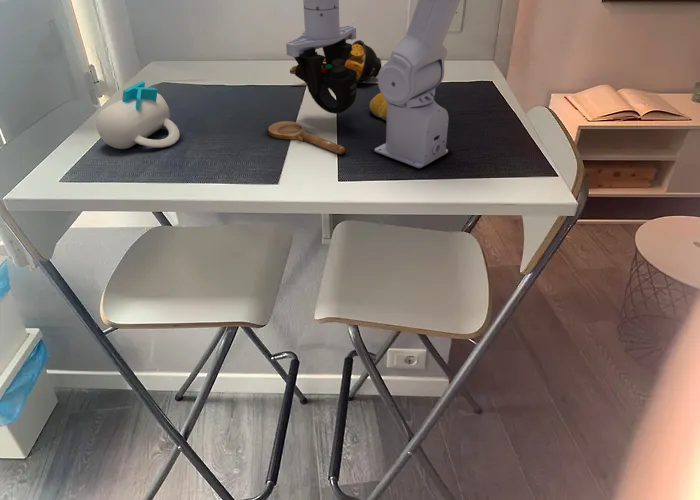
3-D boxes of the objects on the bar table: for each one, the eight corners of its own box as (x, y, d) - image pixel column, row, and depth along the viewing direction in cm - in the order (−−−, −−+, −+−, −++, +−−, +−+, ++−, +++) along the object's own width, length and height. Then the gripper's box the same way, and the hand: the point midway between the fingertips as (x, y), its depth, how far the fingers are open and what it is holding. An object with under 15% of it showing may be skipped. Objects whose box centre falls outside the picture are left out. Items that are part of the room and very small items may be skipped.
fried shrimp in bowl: (393, 64, 116) (314, 45, 108) (369, 105, 124) (294, 90, 115) (381, 36, 121) (304, 16, 112) (358, 77, 129) (285, 61, 120)
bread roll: (395, 127, 102) (396, 105, 99) (362, 113, 107) (362, 92, 105) (427, 115, 106) (429, 94, 104) (394, 102, 112) (394, 82, 109)
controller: (350, 123, 98) (342, 70, 91) (298, 106, 104) (287, 55, 97) (365, 111, 100) (359, 58, 93) (314, 95, 106) (304, 44, 99)
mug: (89, 94, 88) (138, 71, 97) (86, 141, 94) (132, 115, 103) (154, 131, 88) (197, 105, 97) (146, 176, 93) (187, 147, 103)
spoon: (356, 149, 94) (356, 141, 94) (331, 161, 91) (331, 153, 90) (286, 122, 104) (286, 115, 103) (261, 132, 100) (260, 125, 100)
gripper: (334, -5, 98) (336, 74, 106) (270, 10, 89) (278, 95, 97) (365, 1, 94) (365, 82, 102) (301, 17, 85) (306, 104, 93)
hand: (324, 89), depth 99 cm, fingers closed on controller, 4 cm apart
